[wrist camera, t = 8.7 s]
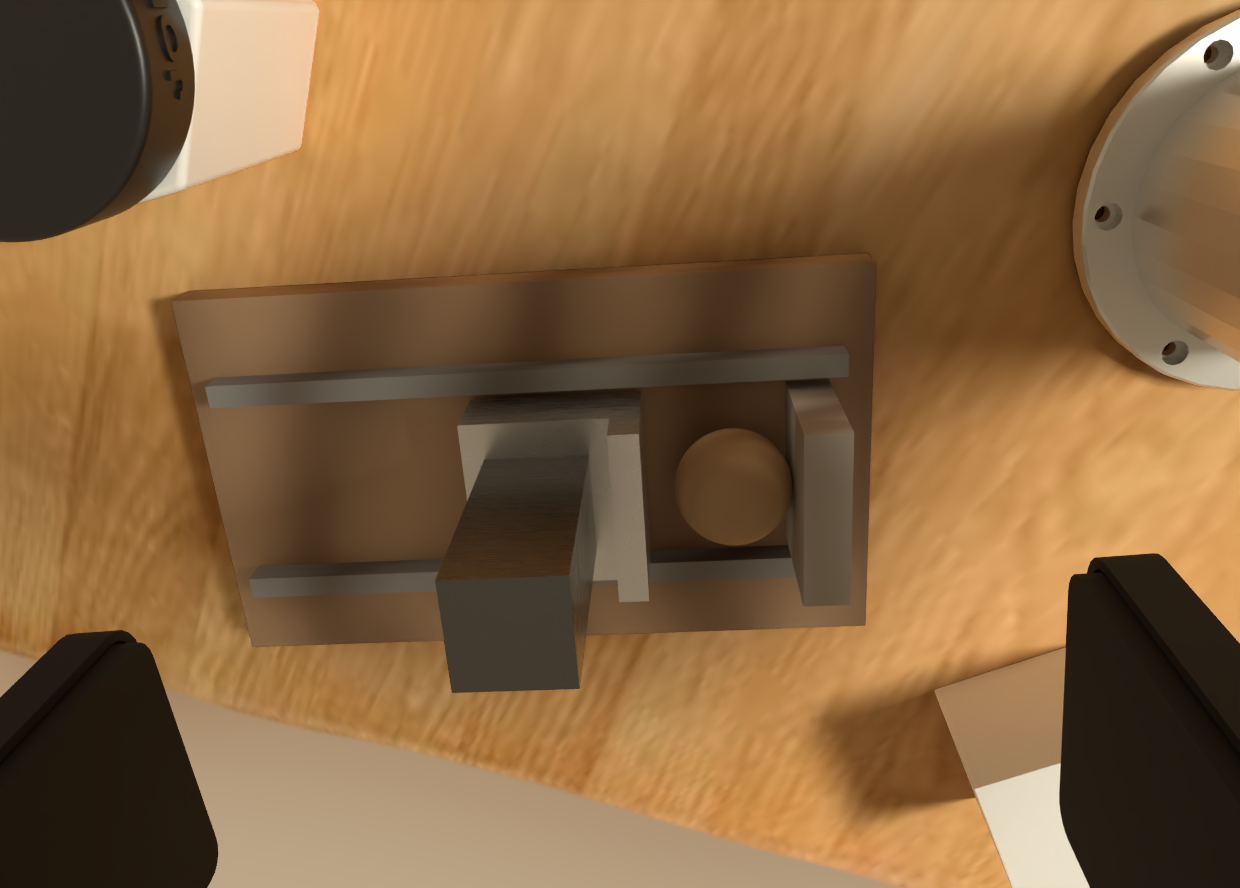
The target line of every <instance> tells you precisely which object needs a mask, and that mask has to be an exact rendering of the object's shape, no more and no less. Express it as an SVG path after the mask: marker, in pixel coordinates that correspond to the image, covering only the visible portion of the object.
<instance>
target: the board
mask: <svg viewBox="0 0 1240 888" xmlns="http://www.w3.org/2000/svg"><path fill="white" fill-rule="evenodd" d="M875 287H876V262H875V260H874V259H873V258H872V257H871V256H870V255H869V254H868V253H860V254H842V255H824V256H806V257H788V258H771V259H753V260H735V261H717V262H699V263H682V264H664V265H646V266H628V267H610V268H593V269H575V270H557V271H539V272H521V273H504V274H486V275H468V276H450V277H432V278H415V279H397V280H379V281H361V282H343V283H326V284H308V285H290V286H272V287H254V288H237V289H219V290H201V291H189V292H187V293H185V294H184V295H182V296H180V297H178V298H176V299H175V300H173V301H171V304H172V308H173V312H174V317H175V321H176V325H177V329H178V334H179V338H180V342H181V346H182V351H183V355H184V359H185V363H186V368H187V372H188V376H189V380H190V385H191V389H192V393H193V397H194V402H195V406H196V410H197V414H198V419H199V423H200V427H201V431H202V436H203V440H204V444H205V448H206V453H207V457H208V461H209V465H210V470H211V474H212V478H213V482H214V487H215V491H216V495H217V499H218V504H219V508H220V512H221V516H222V521H223V525H224V529H225V533H226V538H227V542H228V546H229V550H230V555H231V559H232V563H233V567H234V572H235V576H236V580H237V584H238V589H239V593H240V597H241V601H242V606H243V610H244V614H245V618H246V623H247V627H248V631H249V635H250V640H251V644H252V647H268V646H297V645H325V644H354V643H382V642H411V641H439V640H444V637H443V630H442V623H441V617H440V610H439V604H438V597H437V591H436V584H435V579H436V577H437V574H438V572H439V570H440V567H441V565H442V562H443V560H444V557H445V555H446V552H447V550H448V547H449V545H450V542H451V540H452V538H453V535H454V533H455V530H456V528H457V525H458V523H459V520H460V518H461V515H462V513H463V510H464V508H465V505H466V503H467V496H466V488H465V481H464V473H463V466H462V458H461V451H460V443H459V436H458V428H457V425H458V423H459V421H460V419H461V417H462V415H463V413H464V411H465V409H466V407H467V405H468V403H469V401H470V400H476V399H497V398H517V397H538V396H558V395H578V394H599V393H619V392H640V391H641V398H642V415H643V431H644V448H645V465H646V481H647V498H648V514H649V531H650V587H649V601H641V602H619V592H618V580H601V581H593V584H592V592H591V600H590V608H589V616H588V625H587V633H586V635H610V634H638V633H667V632H695V631H723V630H752V629H780V628H809V627H837V626H865V621H866V588H867V554H868V521H869V488H870V454H871V421H872V388H873V354H874V321H875Z"/></svg>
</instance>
